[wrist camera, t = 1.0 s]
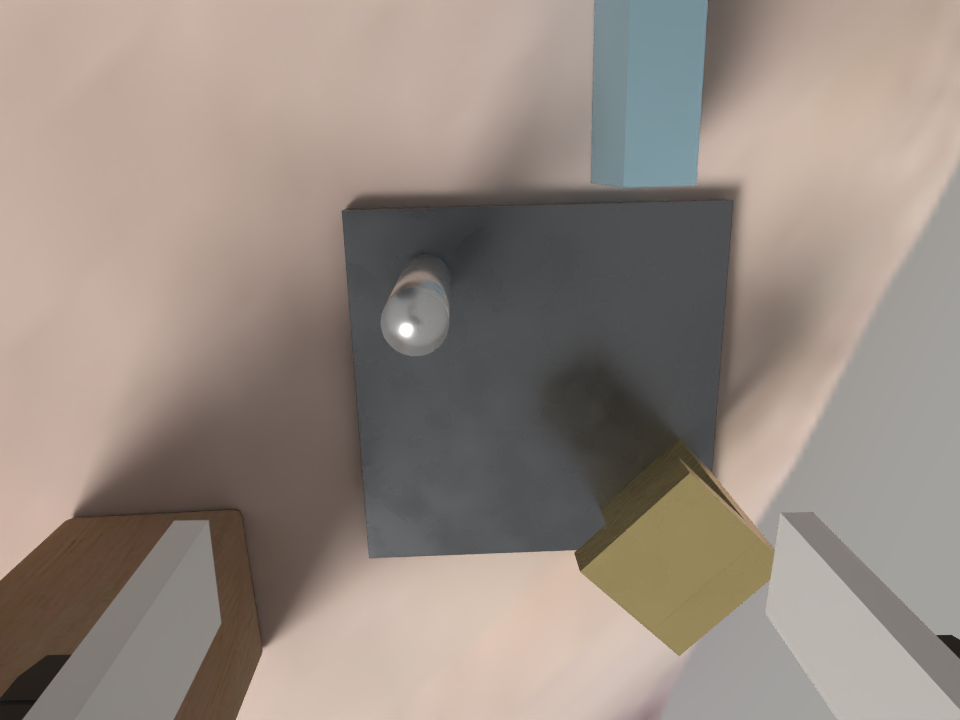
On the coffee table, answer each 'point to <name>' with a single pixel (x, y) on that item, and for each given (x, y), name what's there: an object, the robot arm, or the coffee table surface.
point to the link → (647, 91)
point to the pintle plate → (553, 395)
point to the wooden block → (98, 580)
